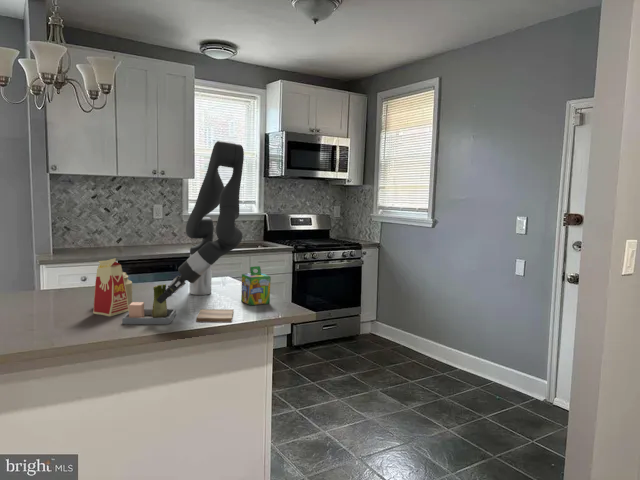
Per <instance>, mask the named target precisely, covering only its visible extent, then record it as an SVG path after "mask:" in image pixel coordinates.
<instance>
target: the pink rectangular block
mask: <svg viewBox="0 0 640 480" xmlns="http://www.w3.org/2000/svg"><path fill="white" fill-rule="evenodd" d="M144 309H145V301H143V302H142V301H141V302H140V301H132V303H131V304H130V305H129V311H128V312H129V318H145V315H144Z"/></svg>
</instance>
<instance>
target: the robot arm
mask: <svg viewBox="0 0 640 480" xmlns="http://www.w3.org/2000/svg"><path fill="white" fill-rule="evenodd" d="M244 150H245V149H244V147H243V146H242V144H240V143H236V142H231V141H226V140H217V141H216V142H215V143H214V146H213V148H212V150H211V155H210V158H209V161H208V162H209V163H208V167H207V169H206V172H205V176H204V177H203V180H202V184H201V186H200V189H199V191H198V195H197V199H196V201H195V204H194V207H193V208H192V210H191V213H190V215H189V217H188V219H187V221H186V226H185V233H186V236H187V237H188V238H190V239H201V241H200V242H199V243H197V244H196V245H193V246H191V247H190V248H189V257H188V258H187V259H186V260H185V261H184V262H182V263H181V265H180V266H178V269H177V270H178V272H179V274H180V276H179V275H176V276H175V278H173V279H172V281H171V282H170V283H169V284H168V286H167V287H166V290H165V291H164V293H163V294H162V295H160V296H159V297H158V298H157V301H158V302H159V303H160V304H161V303H163V302H164V301H165V300H166V301H167V300H168V298H170V297H172V296H173V294H175V293H177V292H178V291H179V290H180V289H183V287H184V286H185V285H186V281H188V282H189V294H190V295H192V296H193V295H195V296H205V295H210V294H212V280H213V279H212V274H213V273H212V272H213V271H212V270H213V269H212V266H213V265H214V264H215V263H216V262H217V261H218V260H219V259H220V258H221V257H222V256H224V255H226V254H228V253H230V252H231V251H233V250H234V249H235V248H237V247H238V246H239V245H240V244H241V242H242V240H243V232H242V231H241V229H240V228H238V227H237V226H236V225H235V224H236V220H237V219H239V217H240V191H241V183H242V177H243V168H244V160H245V159H244V158H245V153H244V152H245V151H244ZM219 167H224V168H231V169H232V175H231V177H230V179H229V180H228V181H227V183H226V184H225V185H224V182H223V180H222V178H221V176H220V173H219ZM218 207H219V208H218ZM217 208H218V209H219V214H218V218H217V221H216V226H214V220H213V219H212V218H211V217H209V216H207V215H208V214H210V213H212V212H213V211H214V210H215V209H217ZM214 227H215V228H214ZM214 230H215V233H216V237H217V240H214Z"/></svg>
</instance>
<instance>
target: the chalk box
mask: <svg viewBox="0 0 640 480" xmlns="http://www.w3.org/2000/svg"><path fill="white" fill-rule="evenodd" d="M249 269H250V270H249V271H250V273H249V272H248V273H242V274H241V297H240V298H241V302H243V303H244V304H247V305H249V306H257V305H259V306H260V305H268V304H269V305H270V302H271V278H272V277H271V276H270V275H268V274H266V273H262V271H261V269H262V268H261V266H260V265H257V266H250V267H249ZM254 270H257V272H255V271H254Z"/></svg>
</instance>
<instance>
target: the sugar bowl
mask: <svg viewBox="0 0 640 480" xmlns="http://www.w3.org/2000/svg"><path fill="white" fill-rule="evenodd" d="M122 272H123V277H124V282H125V287H126V293H127V298H128V305H130V304H131V303H132V302H133V281H132V280H130V279H128V278H129V275H128V274H127V272H124V271H122Z"/></svg>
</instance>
